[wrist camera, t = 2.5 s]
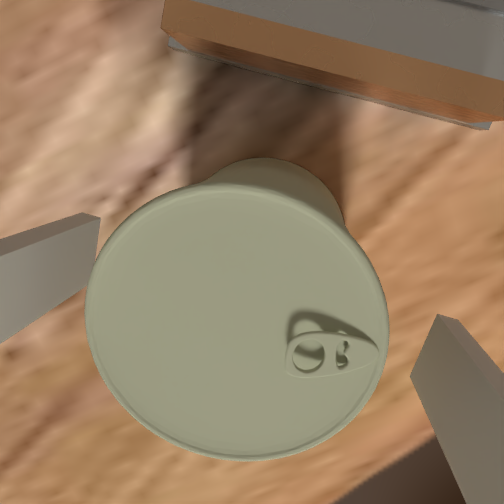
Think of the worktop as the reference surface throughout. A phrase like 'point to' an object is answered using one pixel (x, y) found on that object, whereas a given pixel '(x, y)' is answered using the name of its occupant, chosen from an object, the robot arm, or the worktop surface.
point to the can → (239, 314)
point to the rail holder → (360, 49)
